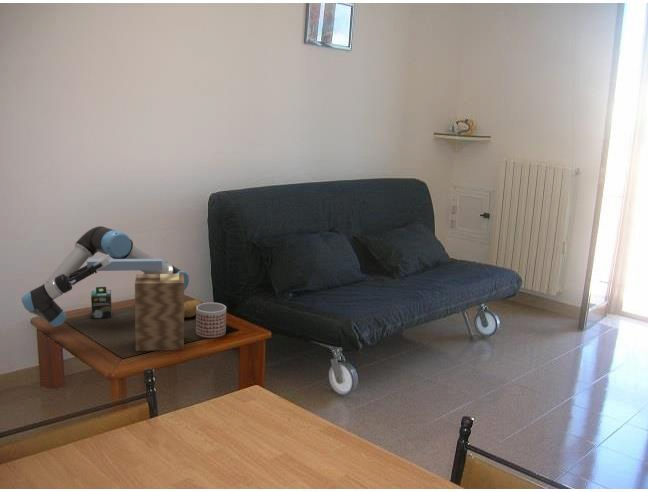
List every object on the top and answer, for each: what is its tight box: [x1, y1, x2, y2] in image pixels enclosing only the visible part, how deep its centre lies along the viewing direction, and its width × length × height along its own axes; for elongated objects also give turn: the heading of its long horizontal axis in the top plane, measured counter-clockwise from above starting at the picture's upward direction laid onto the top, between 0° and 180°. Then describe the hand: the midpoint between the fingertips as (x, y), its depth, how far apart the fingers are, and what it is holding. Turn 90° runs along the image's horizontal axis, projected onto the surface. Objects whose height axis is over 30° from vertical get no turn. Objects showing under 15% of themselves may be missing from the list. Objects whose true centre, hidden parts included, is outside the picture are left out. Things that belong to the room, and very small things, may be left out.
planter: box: [195, 302, 227, 339], centre depth 299 cm, size 14×14×13 cm
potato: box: [184, 299, 202, 319], centre depth 319 cm, size 10×14×8 cm
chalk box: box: [90, 286, 113, 319], centre depth 314 cm, size 9×9×15 cm
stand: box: [134, 273, 185, 352], centre depth 281 cm, size 20×14×30 cm
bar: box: [86, 258, 163, 272], centre depth 273 cm, size 30×4×4 cm, turn 103°
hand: (109, 258), depth 271 cm, fingers closed on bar, 4 cm apart
